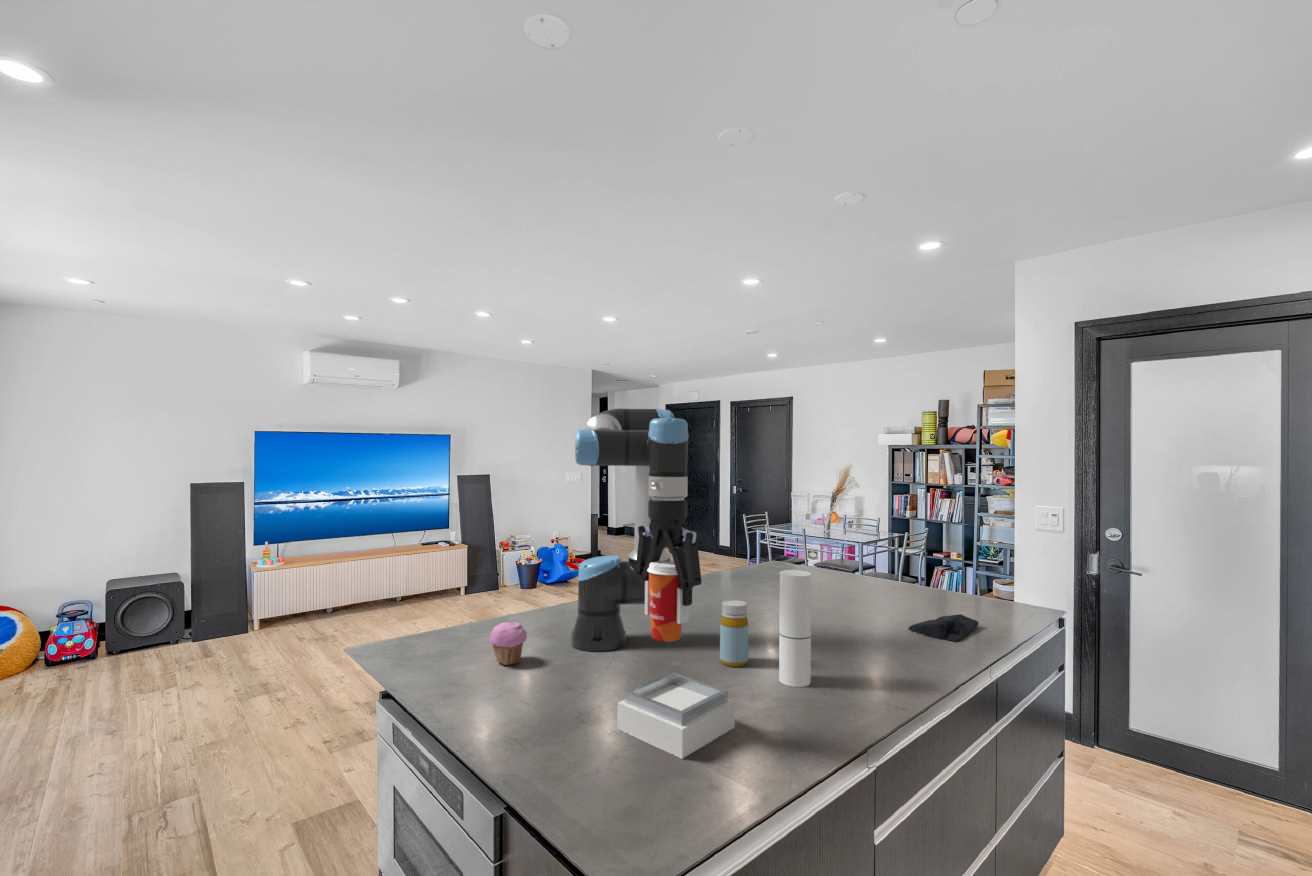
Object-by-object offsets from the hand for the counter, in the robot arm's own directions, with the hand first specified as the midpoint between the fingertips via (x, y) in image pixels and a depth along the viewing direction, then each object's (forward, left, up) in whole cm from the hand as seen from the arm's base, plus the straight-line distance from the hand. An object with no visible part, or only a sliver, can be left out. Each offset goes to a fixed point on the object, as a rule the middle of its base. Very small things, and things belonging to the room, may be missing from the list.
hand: (666, 617), depth 114 cm
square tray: (+1, +2, -21) cm, 21 cm away
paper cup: (0, 0, -4) cm, 4 cm away
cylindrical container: (+6, +39, -21) cm, 45 cm away
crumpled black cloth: (+20, +107, -22) cm, 111 cm away
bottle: (-11, +39, -21) cm, 46 cm away
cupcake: (-52, 0, -21) cm, 56 cm away
